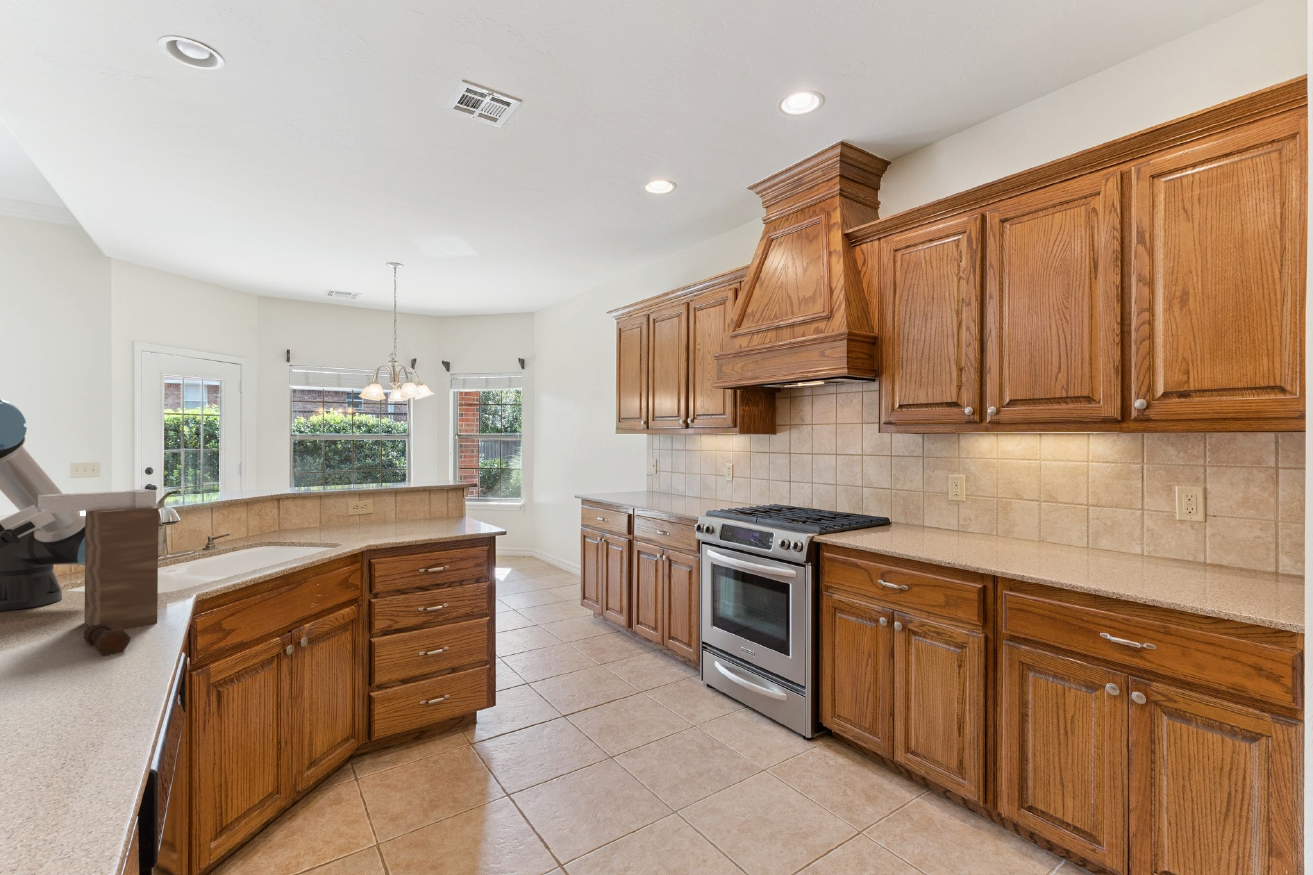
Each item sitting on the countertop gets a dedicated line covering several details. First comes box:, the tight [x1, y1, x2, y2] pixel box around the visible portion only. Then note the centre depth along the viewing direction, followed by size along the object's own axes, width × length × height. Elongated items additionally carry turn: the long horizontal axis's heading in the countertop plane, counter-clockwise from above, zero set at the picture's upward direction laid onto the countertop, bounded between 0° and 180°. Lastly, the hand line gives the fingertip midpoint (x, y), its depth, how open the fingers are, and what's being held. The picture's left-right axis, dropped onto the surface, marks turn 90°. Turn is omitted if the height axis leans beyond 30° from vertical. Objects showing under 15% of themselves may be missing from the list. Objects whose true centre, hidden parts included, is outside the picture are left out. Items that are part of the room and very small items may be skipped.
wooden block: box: [83, 506, 159, 630], centre depth 149 cm, size 14×10×28 cm
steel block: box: [38, 488, 157, 514], centre depth 145 cm, size 7×20×4 cm, turn 144°
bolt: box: [82, 623, 132, 657], centre depth 132 cm, size 6×5×15 cm
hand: (44, 511), depth 137 cm, fingers open, 13 cm apart
